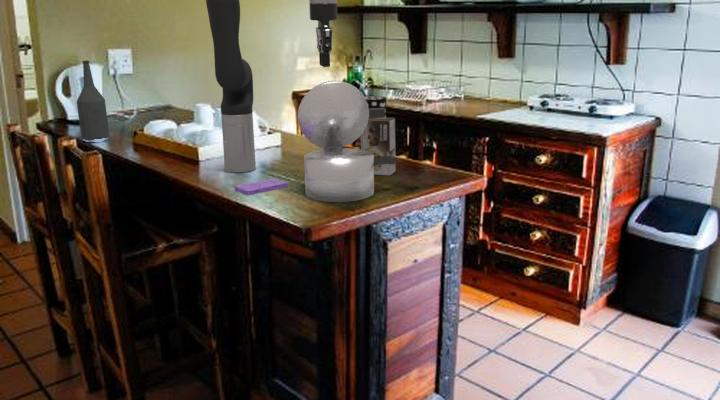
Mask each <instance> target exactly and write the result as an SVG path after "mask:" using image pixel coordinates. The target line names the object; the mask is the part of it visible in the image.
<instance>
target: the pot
mask: <svg viewBox="0 0 720 400" xmlns="http://www.w3.org/2000/svg"><path fill="white" fill-rule="evenodd" d="M303 156H304V157H303V158H304V159H303V160H304V162H303V163H304V182H305V183H304V185H305V186H304V188H305V195H306V197H308V198H310V199H312V200H313V201H314V200H315V201H319V202H327V203H348V202H355V201H356V202H357V201H361V200H365V199H368V198H370V197H371V196H373V195H374V194H375V175H374V165H381V164H396V165H397V157H395V156H381V157H374V154H373V153H372V152H369V151H366V150H360V148H347V147H345V148H344V147H342V148H333V149H324V148H322V149H316V150H311V151H310V152H307V153H305V154H304V155H303Z"/></svg>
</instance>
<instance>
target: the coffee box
mask: <svg viewBox="0 0 720 400" xmlns="http://www.w3.org/2000/svg"><path fill="white" fill-rule="evenodd" d="M361 150H366V151H369V152H372V153H373V154H374V157H381V156H395V157H396V156H397V155H396V117H387V116H386V117H384V118H369V119H368V123H367V126H366V128H365V130H364V132H363V133H362V134H361ZM396 158H397V157H396ZM396 165H397V163H396V164H381V165H374V176H375V175H377V176H391V175H393V174H394V173H395V172H396V169H397V168H396Z"/></svg>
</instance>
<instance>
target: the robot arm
mask: <svg viewBox="0 0 720 400" xmlns="http://www.w3.org/2000/svg"><path fill="white" fill-rule="evenodd" d="M337 1H338V0H309V19H310V20H311V21H316V22H317V27H315V33H316V44H317V46H316V48H317V50H318V51H317V52H318V54H319V55H318V57H319V61H318V62H319V66H321V67H323V68H330V66H331V51H332V50H333V47H332V45H333V27H331V26H330V24H331V23H330V21H336V20H338V2H337ZM205 3H206V10H207V15H208V20H209V26H210V32H211V37H212V41H213V42H212V43H213V51H214V52H213V53H214V56H213V57H214V73H215V79H216V82H217V84H218V86H220V87H221V89H222V101H221V102H220V103H221V104H220V116H221V117H220V118H221V130H222V131H221V132H222V145H223V147H222V148H223V160H224V162H223V163H224V172H225V173H248V172H252V171H255V170H256V169H257V164H256V149H255V135H254V134H255V132H254V130H255V129H254V117H253V116H254V115H253V104H254V80H253V79H254V78H253V77H254V75H253V70H252V68H251V66H250V64H249V63H248V61H247V60H245V59H244V58H243V57H242V53H241V47H240V41H239V37H240V36H239V34H240V24H241V23H240V22H241V3H240V0H205Z"/></svg>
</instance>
